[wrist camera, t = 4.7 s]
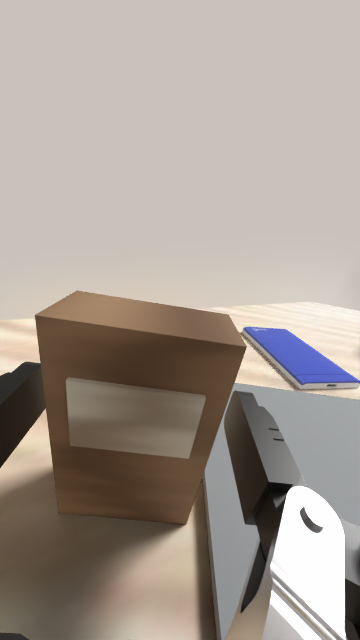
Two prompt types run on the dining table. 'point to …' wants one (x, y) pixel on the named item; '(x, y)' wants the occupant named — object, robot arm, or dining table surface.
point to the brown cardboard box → (133, 402)
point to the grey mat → (314, 464)
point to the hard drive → (299, 360)
